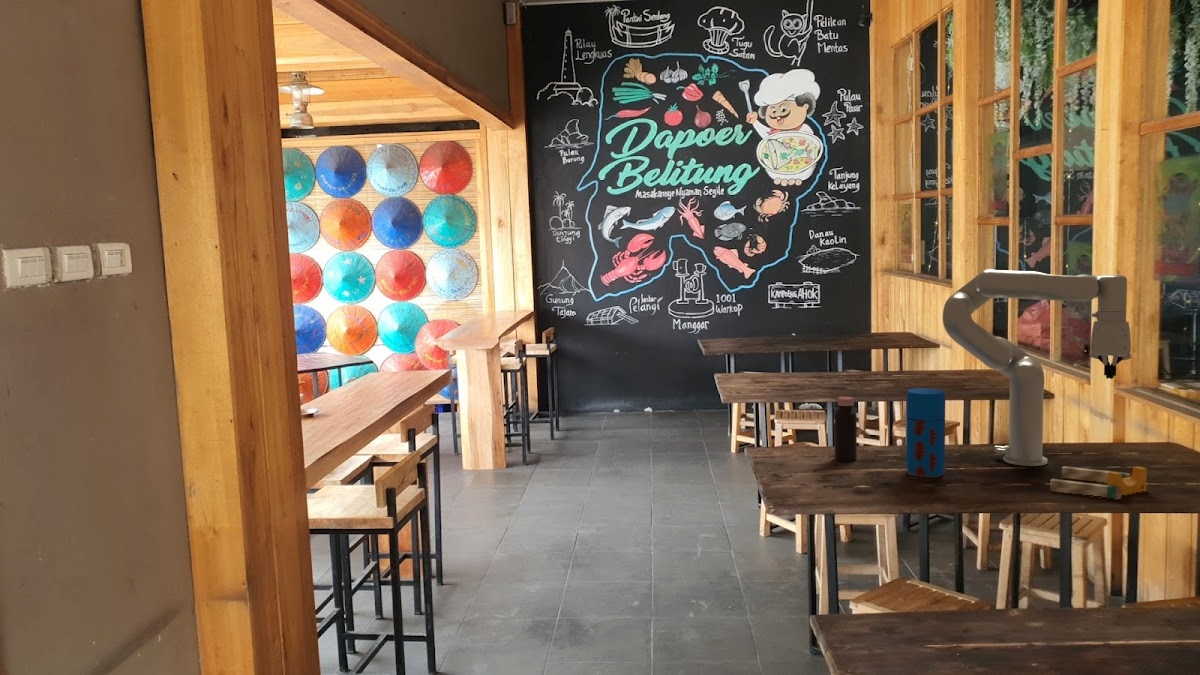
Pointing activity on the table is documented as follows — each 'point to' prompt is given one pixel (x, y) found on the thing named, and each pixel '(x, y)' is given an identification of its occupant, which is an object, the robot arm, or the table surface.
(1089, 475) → the channel
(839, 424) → the bottle
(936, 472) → the thermos
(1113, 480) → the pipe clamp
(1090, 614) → the table surface
